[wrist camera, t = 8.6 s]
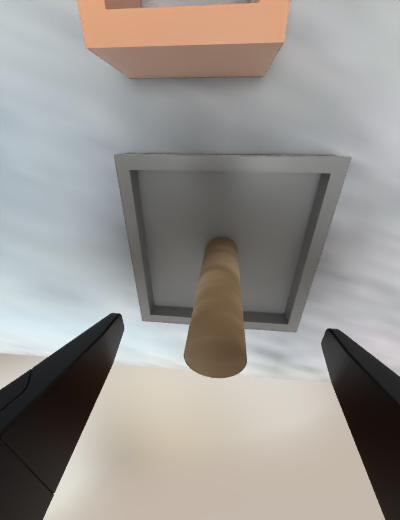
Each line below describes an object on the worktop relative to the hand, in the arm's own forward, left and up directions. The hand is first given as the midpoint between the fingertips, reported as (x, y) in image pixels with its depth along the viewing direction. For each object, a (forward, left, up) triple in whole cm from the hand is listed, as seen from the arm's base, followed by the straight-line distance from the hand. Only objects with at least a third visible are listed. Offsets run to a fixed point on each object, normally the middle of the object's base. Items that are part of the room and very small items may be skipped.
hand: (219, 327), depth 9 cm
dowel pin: (0, 0, -8) cm, 8 cm away
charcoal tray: (0, 0, -8) cm, 8 cm away
